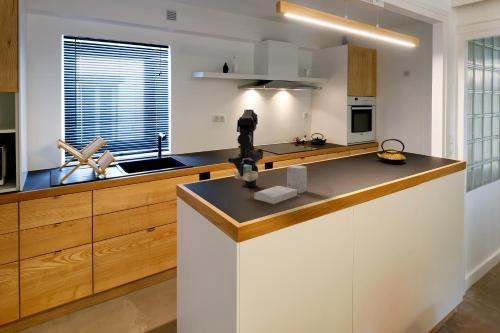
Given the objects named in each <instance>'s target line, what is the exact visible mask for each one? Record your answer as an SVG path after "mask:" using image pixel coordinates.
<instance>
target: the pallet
mask: <svg viewBox="0 0 500 333" xmlns="http://www.w3.org/2000/svg"><path fill="white" fill-rule="evenodd" d="M234 179H237V180H242V181H243V180H246V181H252V180H256V181H257V180H259V171H258V172H255V171H252V172H247V173H245V172H243V176H242V177H241V176H240V174H239V172H238V170H234Z"/></svg>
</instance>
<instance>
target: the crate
mask: <svg viewBox="0 0 500 333" xmlns="http://www.w3.org/2000/svg"><path fill="white" fill-rule="evenodd" d="M243 172H245V173H247V172H252V165H244V166H243Z"/></svg>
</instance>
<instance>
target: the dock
mask: <svg viewBox="0 0 500 333" xmlns="http://www.w3.org/2000/svg"><path fill="white" fill-rule="evenodd" d="M294 197H298V193H297V190H296V189H291V188H287V186H281V185H276V186H272V187H270V188H269V187H268V188H265V189H262V190H259V191H256V192H253V199H254V200H256V201H261V202H265V203H268V204H273V205H274V204H278V203H281V202H283V201H286V200H288V199H289V200H290V199H292V198H294Z"/></svg>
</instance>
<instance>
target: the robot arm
mask: <svg viewBox="0 0 500 333" xmlns="http://www.w3.org/2000/svg"><path fill="white" fill-rule="evenodd" d="M258 120H259V119H258V114H257V113H256V112H254V109H243V114H241V116H240V117H238V119H237V121H236V122H237V123H236V133H239V135H238V136H237V140H236V141H237V144H238V146H237V147H238V149H239V153H238V154H237V155H234V156H233V155H232V156H229V157H228V161H227V162H228V164H233V165H234V167H235V168H236V171H238V172H239V174H240V176H241V177H242V176H243V166H244V165H252V171H255V172H258V173H259V167H258V166H257V163H258V162H260V160H263V158H264V157H263V156H264V149H262V148H258V149H255V146H254V136H255V135H254V132H255V131H256V130H257V125H258ZM242 182H243V184H242V185H241V187H243V188H247V189H252V188H256V187H258V184H257V179H256V180H252V181H246V180H242Z"/></svg>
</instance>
